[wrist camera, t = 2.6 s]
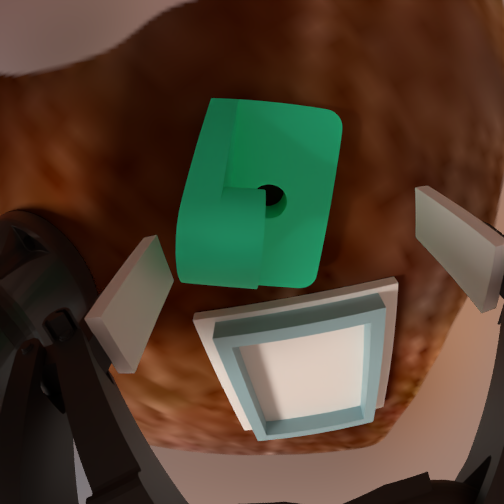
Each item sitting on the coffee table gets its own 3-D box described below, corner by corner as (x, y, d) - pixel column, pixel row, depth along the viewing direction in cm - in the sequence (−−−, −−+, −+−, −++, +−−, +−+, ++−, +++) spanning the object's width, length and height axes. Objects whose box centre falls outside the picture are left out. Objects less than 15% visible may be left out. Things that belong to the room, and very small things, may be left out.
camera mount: (308, 269, 24) (334, 371, 15) (209, 262, 23) (183, 362, 14) (333, 111, 18) (402, 121, 9) (216, 98, 18) (177, 93, 9)
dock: (244, 423, 34) (243, 443, 31) (194, 313, 26) (188, 336, 23) (381, 400, 32) (387, 419, 29) (394, 276, 24) (407, 297, 21)
